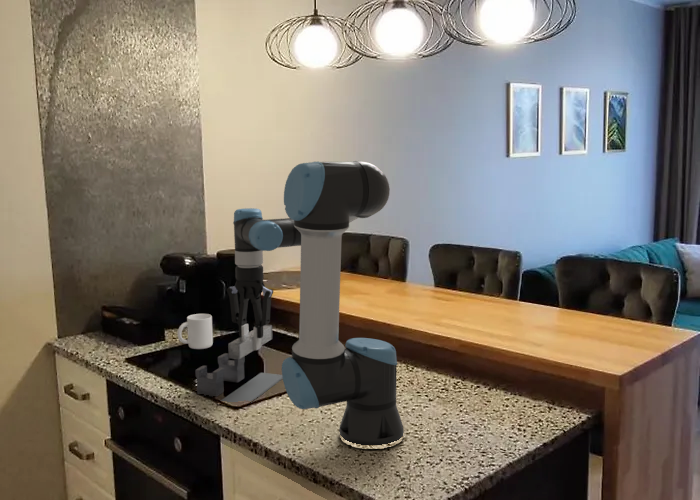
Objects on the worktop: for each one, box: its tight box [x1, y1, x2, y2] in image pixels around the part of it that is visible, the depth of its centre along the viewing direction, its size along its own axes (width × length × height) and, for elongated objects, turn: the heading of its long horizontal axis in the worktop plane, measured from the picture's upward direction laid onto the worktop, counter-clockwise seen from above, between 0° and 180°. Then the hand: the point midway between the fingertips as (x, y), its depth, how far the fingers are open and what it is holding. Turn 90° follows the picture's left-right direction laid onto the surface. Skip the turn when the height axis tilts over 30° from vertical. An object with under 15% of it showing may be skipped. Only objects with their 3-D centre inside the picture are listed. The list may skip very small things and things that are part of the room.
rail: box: [227, 324, 273, 360], centre depth 191 cm, size 20×3×4 cm, turn 160°
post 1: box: [194, 365, 225, 398], centre depth 190 cm, size 4×7×7 cm, turn 71°
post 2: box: [217, 352, 246, 384], centre depth 202 cm, size 4×7×7 cm, turn 70°
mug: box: [177, 313, 214, 350], centre depth 234 cm, size 12×8×10 cm
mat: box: [220, 372, 283, 402], centre depth 193 cm, size 26×8×1 cm, turn 160°
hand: (251, 348), depth 191 cm, fingers closed on rail, 3 cm apart
